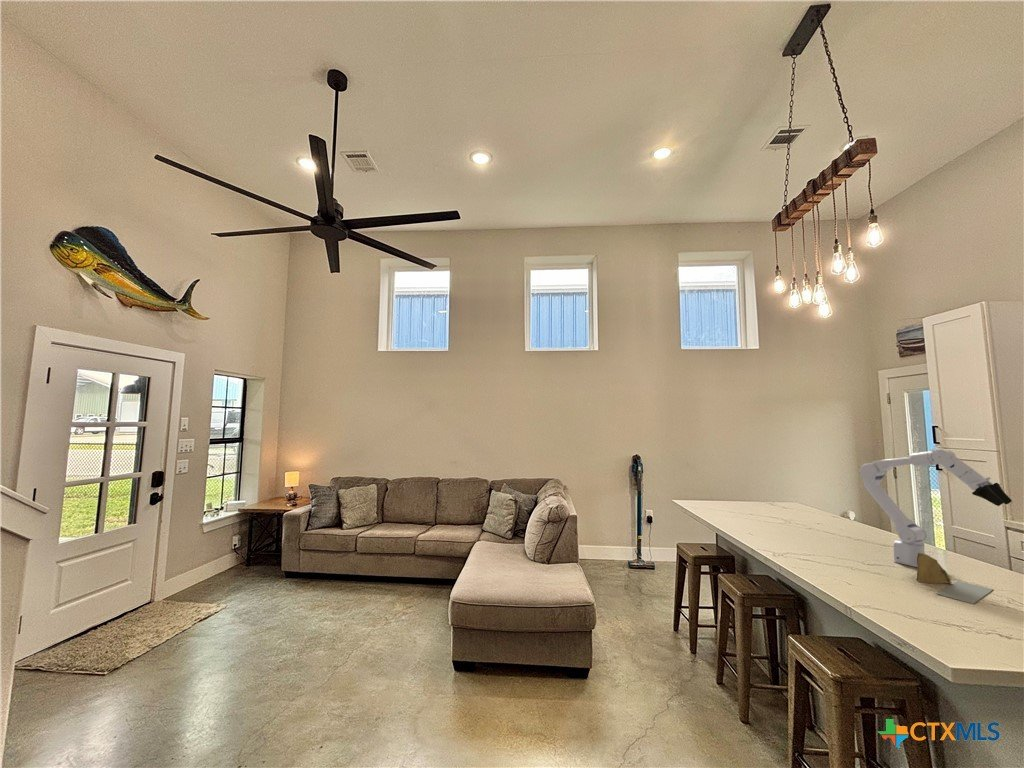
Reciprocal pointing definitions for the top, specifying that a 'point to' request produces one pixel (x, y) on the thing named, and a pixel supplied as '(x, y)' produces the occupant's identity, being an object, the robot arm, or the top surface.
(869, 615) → the top surface
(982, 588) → the mat
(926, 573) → the rock
